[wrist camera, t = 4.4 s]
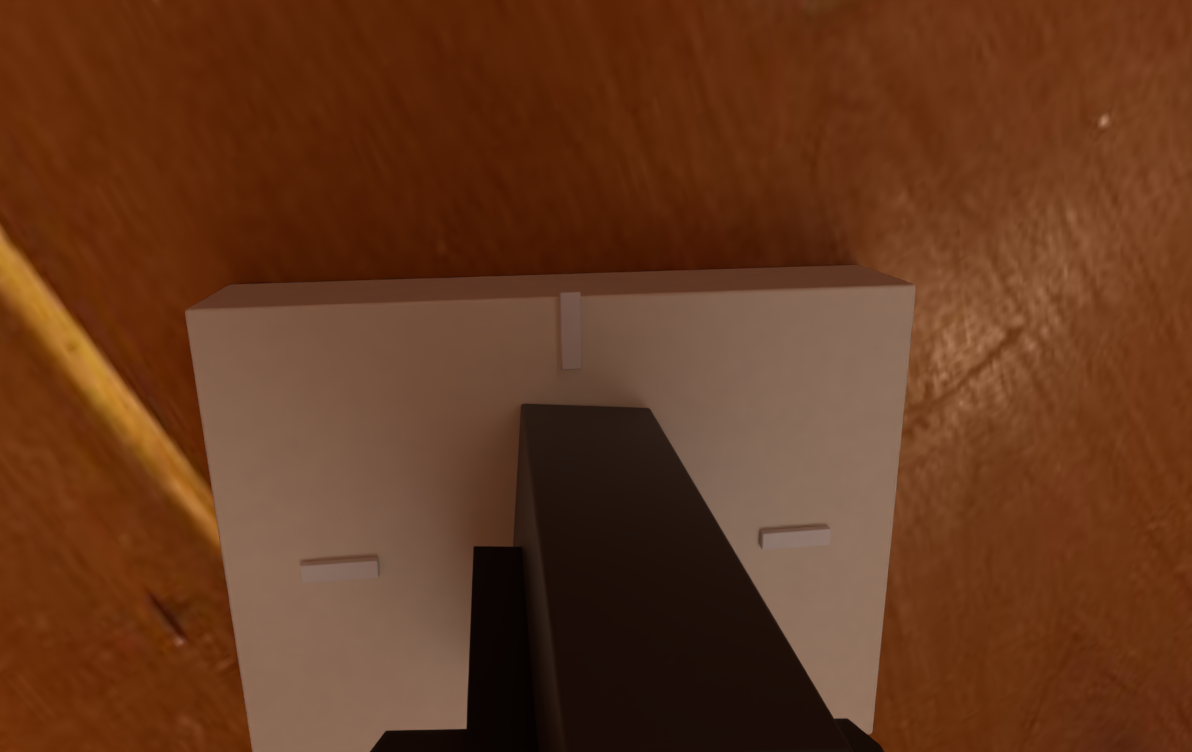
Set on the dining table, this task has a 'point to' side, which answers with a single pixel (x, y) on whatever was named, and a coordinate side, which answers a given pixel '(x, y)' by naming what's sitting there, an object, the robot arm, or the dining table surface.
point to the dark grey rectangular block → (645, 602)
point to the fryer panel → (490, 459)
